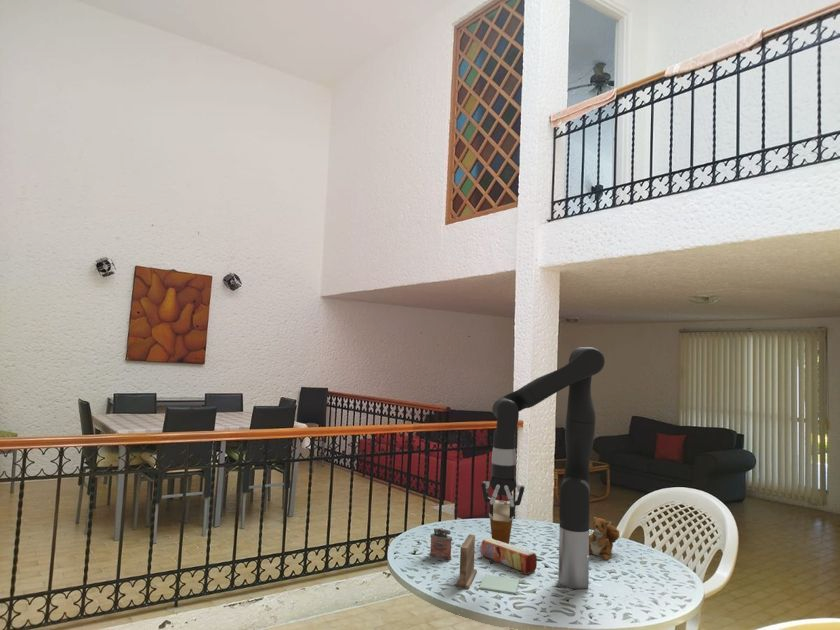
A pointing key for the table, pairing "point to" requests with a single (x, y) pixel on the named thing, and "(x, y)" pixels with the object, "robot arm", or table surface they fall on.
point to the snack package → (509, 555)
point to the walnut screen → (467, 563)
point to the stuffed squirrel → (602, 538)
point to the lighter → (441, 544)
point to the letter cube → (501, 511)
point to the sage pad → (499, 584)
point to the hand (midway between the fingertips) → (501, 516)
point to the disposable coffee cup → (500, 530)
